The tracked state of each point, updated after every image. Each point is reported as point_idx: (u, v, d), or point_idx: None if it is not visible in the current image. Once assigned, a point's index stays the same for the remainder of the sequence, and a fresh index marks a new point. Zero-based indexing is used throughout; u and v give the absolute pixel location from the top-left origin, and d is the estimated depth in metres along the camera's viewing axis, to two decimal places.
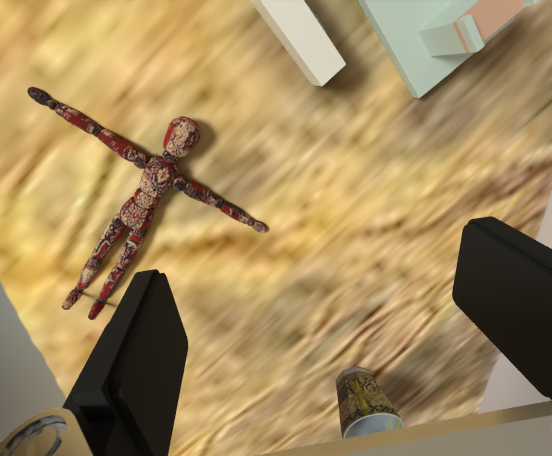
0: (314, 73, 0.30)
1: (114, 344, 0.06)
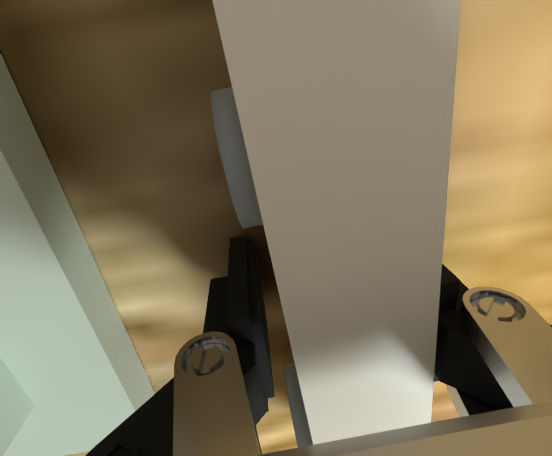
0: None
1: (241, 287, 0.07)
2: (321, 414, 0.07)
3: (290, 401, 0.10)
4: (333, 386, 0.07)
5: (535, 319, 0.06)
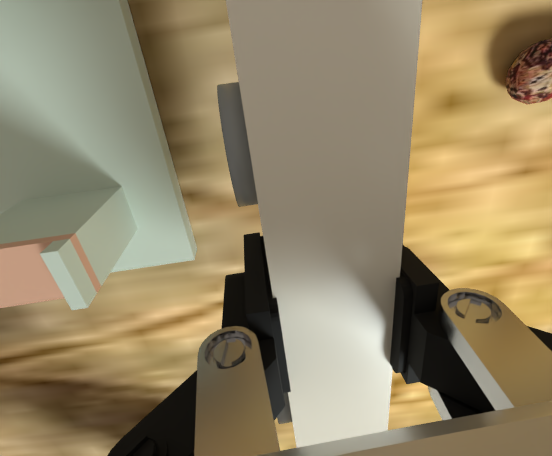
0: None
1: (259, 282, 0.08)
2: (297, 371, 0.08)
3: None
4: (308, 345, 0.08)
5: (511, 319, 0.06)
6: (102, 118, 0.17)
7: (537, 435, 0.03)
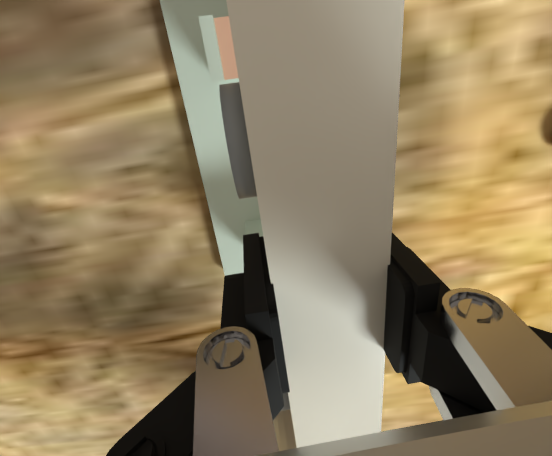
0: None
1: (258, 283, 0.08)
2: (294, 355, 0.09)
3: None
4: (305, 330, 0.08)
5: (512, 319, 0.06)
6: None
7: (536, 435, 0.03)
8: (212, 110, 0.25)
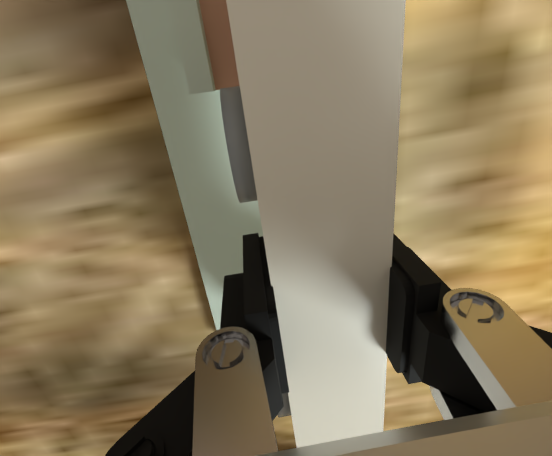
0: None
1: (257, 283, 0.08)
2: (295, 360, 0.09)
3: None
4: (305, 335, 0.08)
5: (513, 319, 0.06)
6: None
7: (537, 435, 0.03)
8: (200, 132, 0.17)
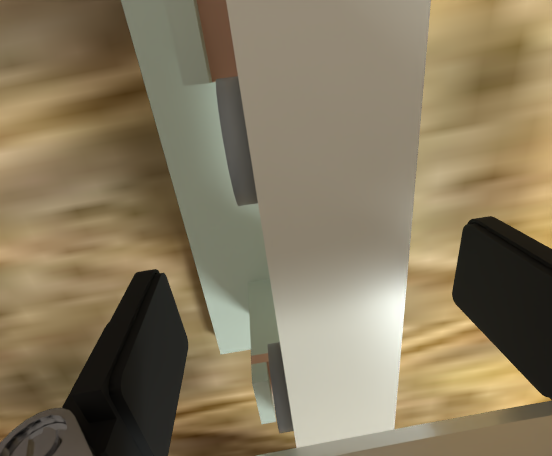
0: None
1: (114, 344, 0.06)
2: (299, 378, 0.08)
3: (271, 375, 0.11)
4: (311, 351, 0.08)
5: None
6: None
7: (537, 435, 0.03)
8: (198, 129, 0.16)
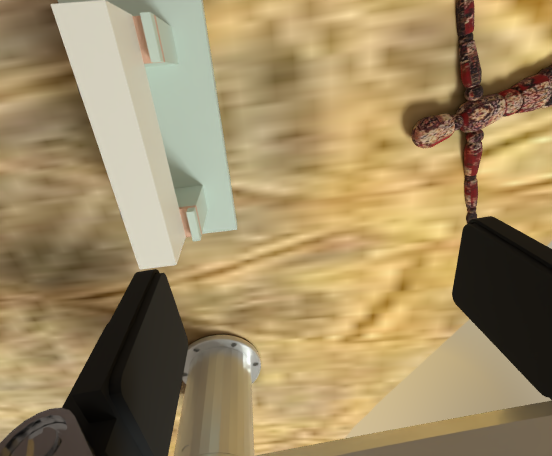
0: (110, 29, 0.18)
1: (114, 344, 0.06)
2: (113, 175, 0.22)
3: None
4: (114, 162, 0.22)
5: None
6: (198, 149, 0.33)
7: (537, 435, 0.03)
8: None
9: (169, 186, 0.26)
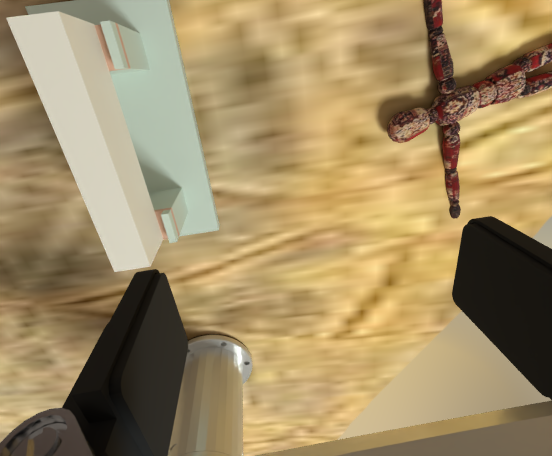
0: (66, 39, 0.19)
1: (114, 344, 0.06)
2: (80, 181, 0.23)
3: None
4: (81, 168, 0.22)
5: None
6: (175, 152, 0.34)
7: (537, 435, 0.03)
8: None
9: (141, 189, 0.27)
